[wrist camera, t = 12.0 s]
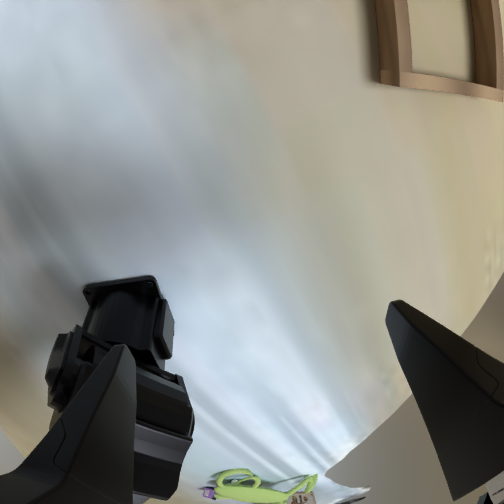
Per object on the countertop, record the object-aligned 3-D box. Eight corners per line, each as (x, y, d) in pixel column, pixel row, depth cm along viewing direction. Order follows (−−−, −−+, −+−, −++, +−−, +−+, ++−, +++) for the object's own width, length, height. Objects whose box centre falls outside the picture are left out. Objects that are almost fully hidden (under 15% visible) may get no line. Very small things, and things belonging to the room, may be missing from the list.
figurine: (272, 494, 65) (275, 512, 61) (182, 485, 54) (183, 506, 49) (325, 472, 59) (330, 492, 54) (232, 464, 48) (236, 490, 43)
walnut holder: (380, 83, 18) (399, 86, 16) (366, -52, 12) (383, -62, 10) (482, 96, 18) (503, 102, 16) (475, -17, 13) (495, -19, 11)
